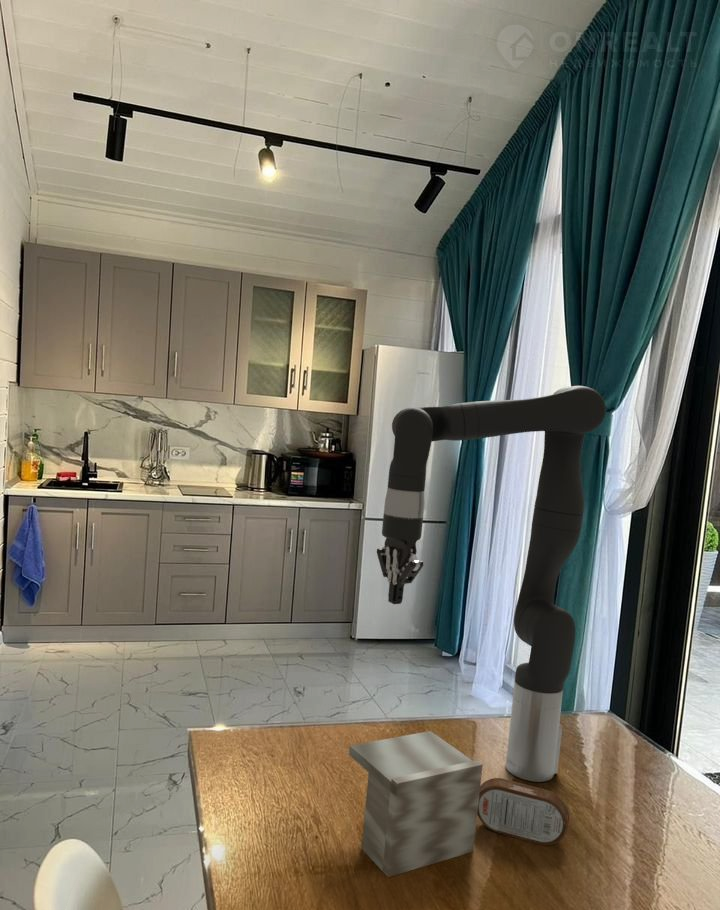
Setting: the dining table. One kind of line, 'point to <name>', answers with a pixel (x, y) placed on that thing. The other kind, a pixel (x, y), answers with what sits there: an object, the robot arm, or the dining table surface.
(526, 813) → the tin
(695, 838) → the dining table surface
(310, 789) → the dining table surface
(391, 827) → the overhanging lid box
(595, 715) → the dining table surface
